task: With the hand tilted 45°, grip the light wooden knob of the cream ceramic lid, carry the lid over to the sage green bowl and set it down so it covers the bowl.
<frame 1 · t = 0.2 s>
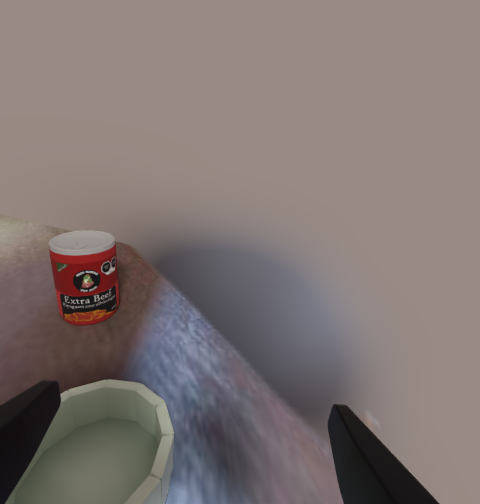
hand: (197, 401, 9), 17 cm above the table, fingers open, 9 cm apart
canned food: (91, 311, 40), on the table
bowl: (94, 485, 20), on the table
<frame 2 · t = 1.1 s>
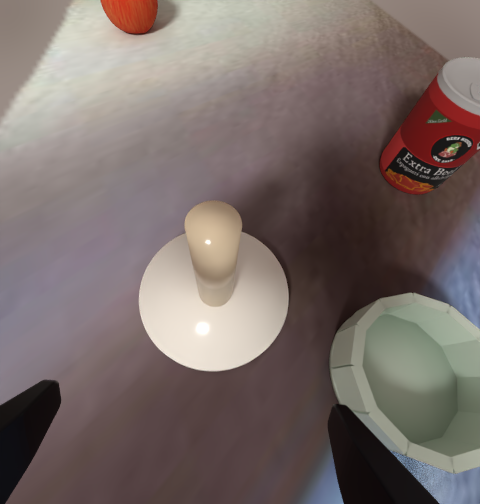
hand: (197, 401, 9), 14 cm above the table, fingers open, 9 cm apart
canned food: (406, 172, 34), on the table
bowl: (393, 373, 23), on the table
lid: (215, 294, 25), on the table
apple: (136, 29, 43), on the table
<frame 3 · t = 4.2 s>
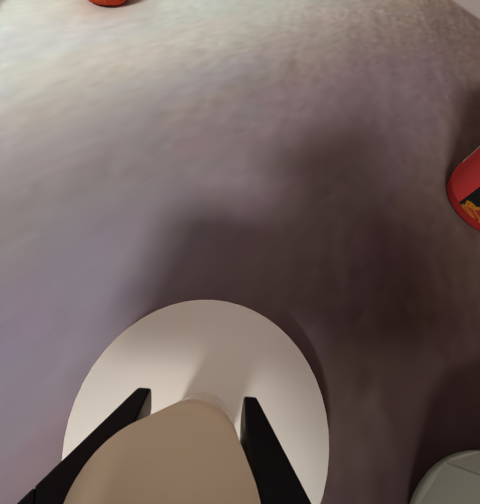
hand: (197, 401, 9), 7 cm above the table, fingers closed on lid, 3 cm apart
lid: (202, 423, 15), on the table, touching gripper
apple: (110, 1, 33), on the table
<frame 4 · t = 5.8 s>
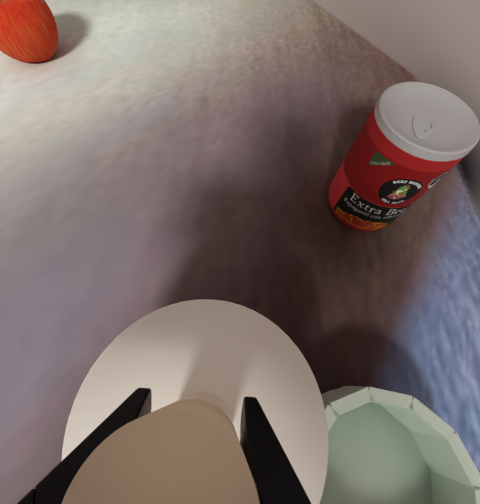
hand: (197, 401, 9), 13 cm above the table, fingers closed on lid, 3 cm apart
canned food: (359, 203, 30), on the table
bowl: (358, 474, 19), on the table
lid: (202, 422, 15), point 6 cm above the table, touching gripper
apple: (38, 56, 37), on the table
when the fingers open (12 cm above the table, at t = 7.4 s): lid stays where it is, resting on bowl.
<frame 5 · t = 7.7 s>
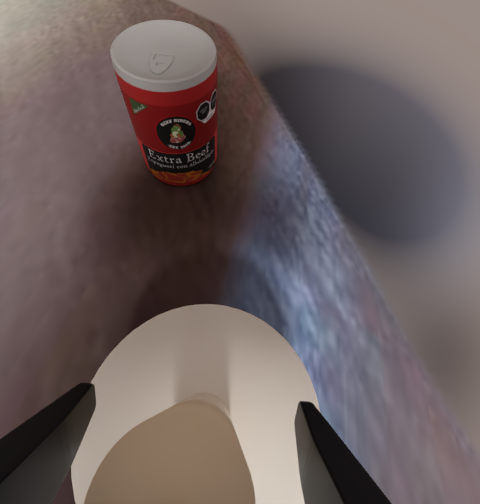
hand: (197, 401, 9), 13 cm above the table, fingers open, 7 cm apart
canned food: (182, 160, 30), on the table
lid: (203, 421, 16), point 4 cm above the table, touching bowl
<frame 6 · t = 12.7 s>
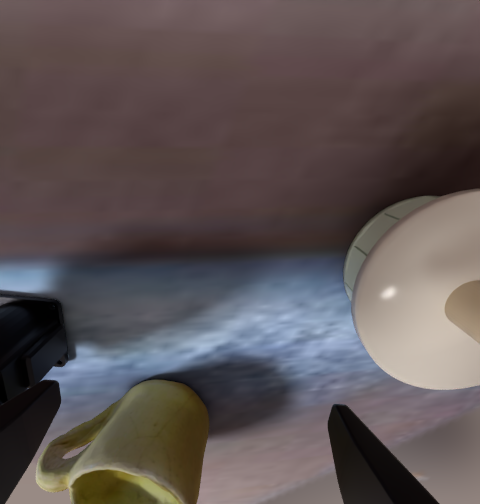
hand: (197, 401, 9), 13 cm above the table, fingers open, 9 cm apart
mug: (146, 405, 26), on the table
bowl: (413, 266, 21), on the table
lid: (455, 293, 17), point 4 cm above the table, touching bowl
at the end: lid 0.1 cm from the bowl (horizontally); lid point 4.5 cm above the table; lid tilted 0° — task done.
